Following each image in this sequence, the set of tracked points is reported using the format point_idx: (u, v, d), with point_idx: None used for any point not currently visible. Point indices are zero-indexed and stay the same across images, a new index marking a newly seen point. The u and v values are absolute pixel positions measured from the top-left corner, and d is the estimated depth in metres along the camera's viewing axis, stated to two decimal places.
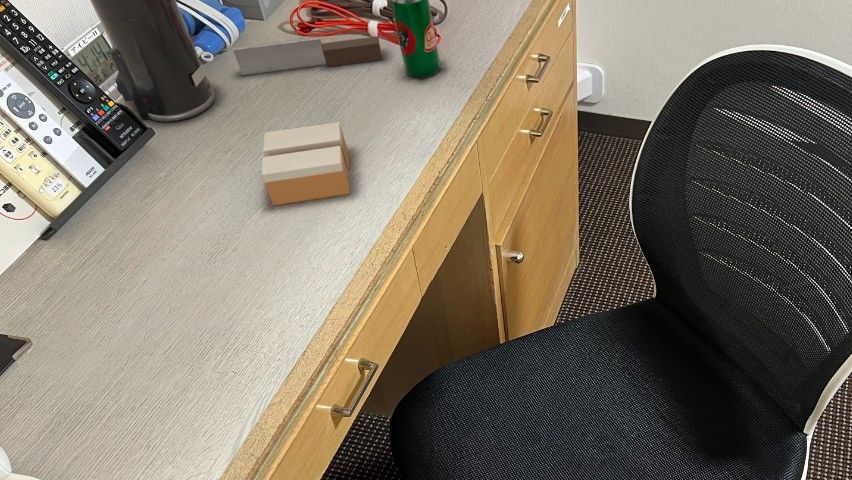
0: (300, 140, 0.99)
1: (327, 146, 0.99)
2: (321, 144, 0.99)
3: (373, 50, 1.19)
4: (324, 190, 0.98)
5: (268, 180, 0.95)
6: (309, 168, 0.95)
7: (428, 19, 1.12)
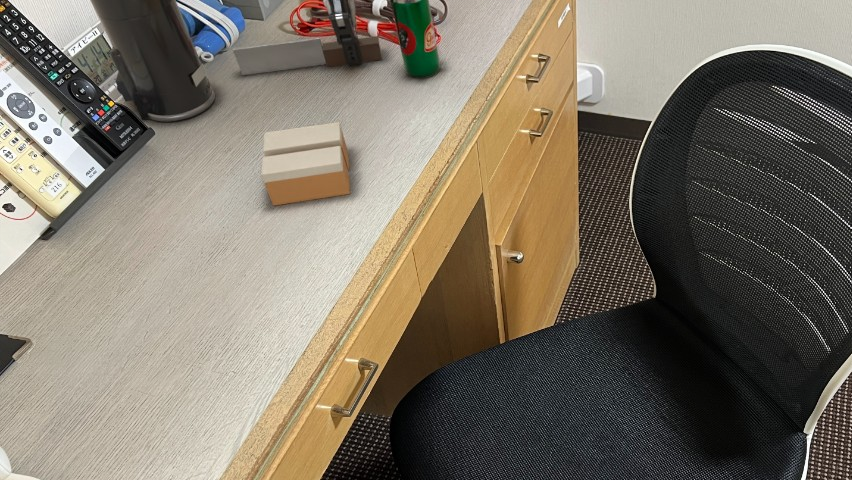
0: (300, 140, 0.99)
1: (327, 146, 0.99)
2: (321, 144, 0.99)
3: (373, 50, 1.19)
4: (324, 190, 0.98)
5: (268, 180, 0.95)
6: (309, 168, 0.95)
7: (428, 19, 1.12)
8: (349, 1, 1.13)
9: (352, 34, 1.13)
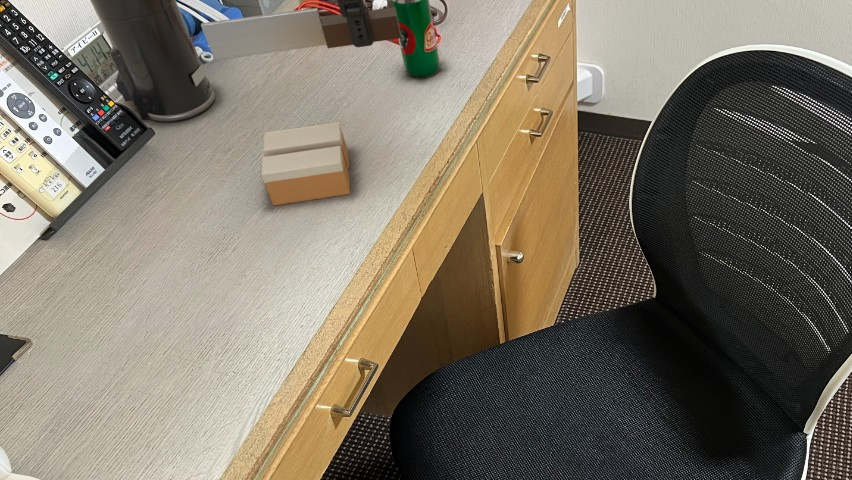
0: (300, 140, 0.99)
1: (327, 146, 0.99)
2: (321, 144, 0.99)
3: (389, 25, 0.90)
4: (324, 190, 0.98)
5: (268, 180, 0.95)
6: (309, 168, 0.95)
7: (428, 19, 1.12)
8: None
9: (361, 2, 0.83)
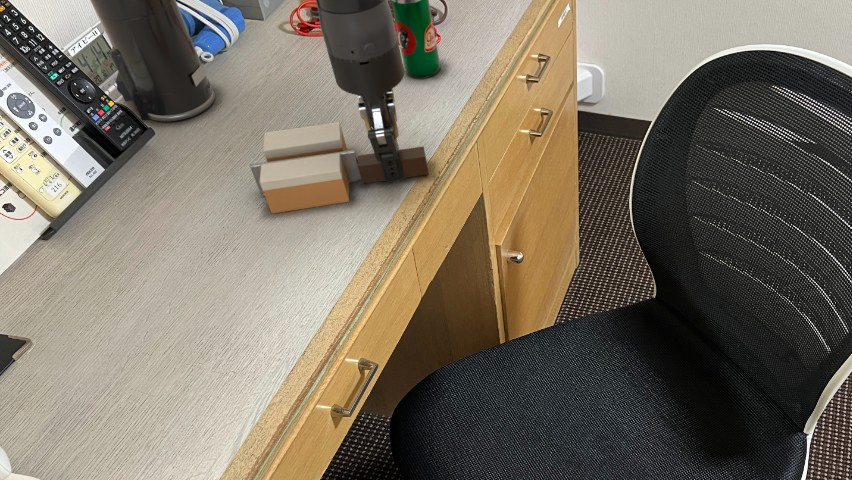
0: (300, 140, 0.99)
1: (327, 146, 0.99)
2: (321, 144, 0.99)
3: (418, 164, 0.99)
4: (323, 198, 0.97)
5: (267, 188, 0.94)
6: (308, 176, 0.94)
7: (428, 19, 1.12)
8: (391, 111, 0.93)
9: (394, 151, 0.93)
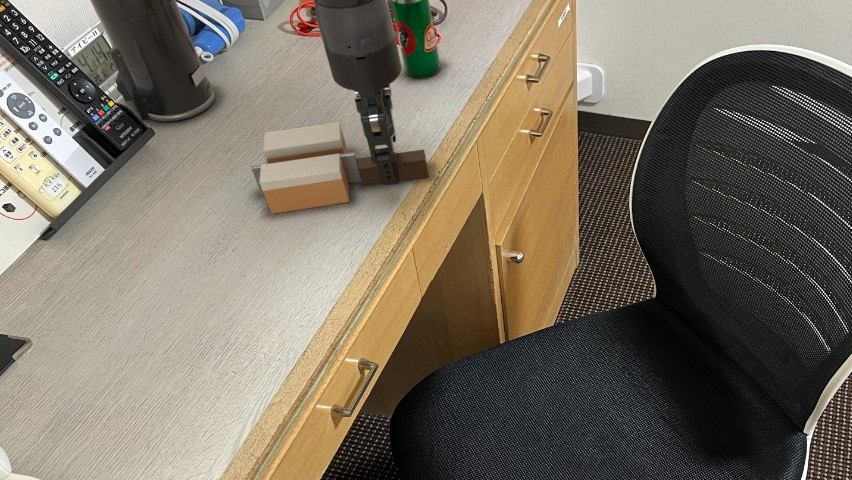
0: (300, 140, 0.99)
1: (327, 146, 0.99)
2: (321, 144, 0.99)
3: (418, 167, 0.99)
4: (323, 198, 0.97)
5: (266, 188, 0.94)
6: (308, 176, 0.94)
7: (428, 19, 1.12)
8: (387, 105, 0.91)
9: (389, 145, 0.90)
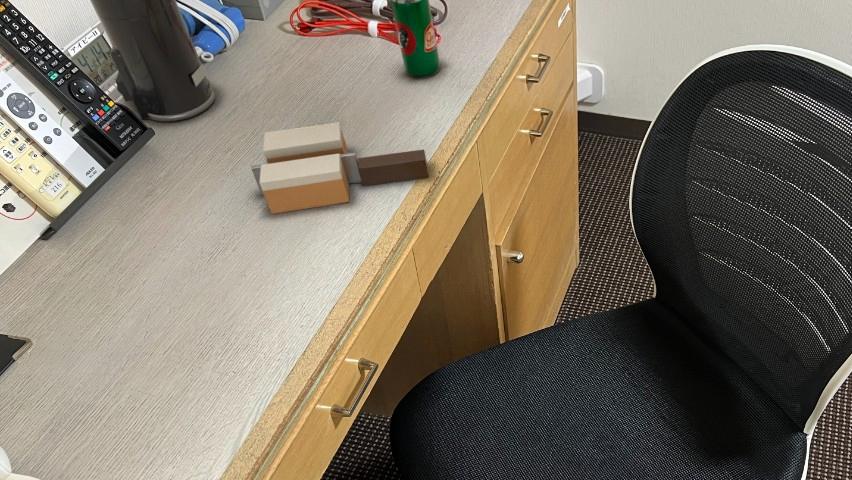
0: (300, 140, 0.99)
1: (327, 146, 0.99)
2: (321, 144, 0.99)
3: (418, 167, 0.99)
4: (323, 198, 0.97)
5: (266, 188, 0.94)
6: (308, 176, 0.94)
7: (428, 19, 1.12)
8: None
9: None
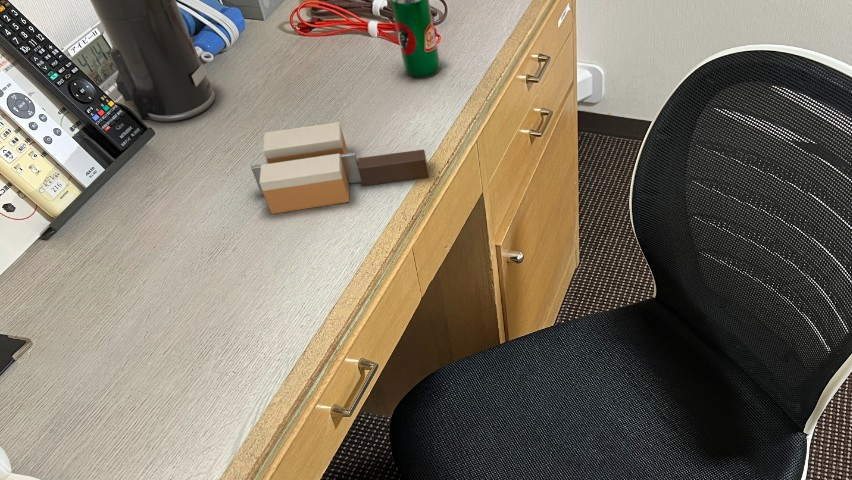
0: (300, 140, 0.99)
1: (327, 146, 0.99)
2: (321, 144, 0.99)
3: (418, 167, 0.99)
4: (323, 198, 0.97)
5: (266, 188, 0.94)
6: (308, 176, 0.94)
7: (428, 19, 1.12)
8: None
9: None
